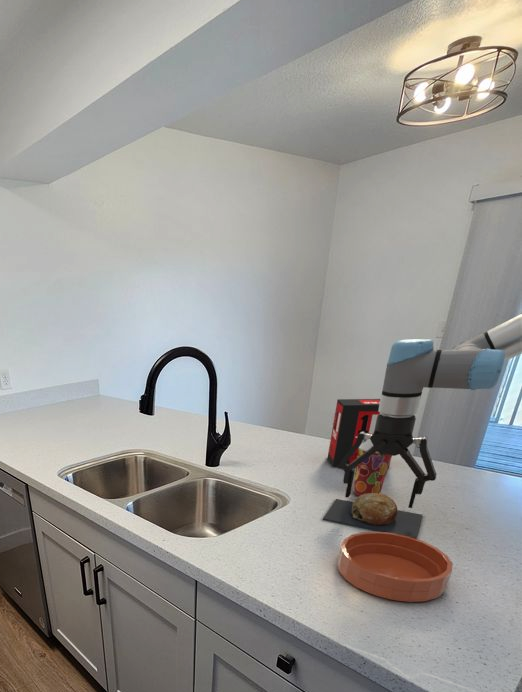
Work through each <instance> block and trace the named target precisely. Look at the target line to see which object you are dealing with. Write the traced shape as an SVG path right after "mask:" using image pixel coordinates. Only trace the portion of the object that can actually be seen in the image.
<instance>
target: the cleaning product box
mask: <svg viewBox="0 0 522 692" xmlns="http://www.w3.org/2000/svg"><path fill="white" fill-rule="evenodd" d="M380 399H381V398H338V399H337V401H336V406H335V412H334V416H333V417H334V418H333V424H332V430H331V437H330V441H329V447H328V451H327V452H328V453H327V460H328V463H330V465H331V467H332V468H338V464H339V463H340V462H341V461H342V459H343V458H344V457H345V455H346V454H347V453H348V452H349V450H350V449H351V448H352V447H353V445H354V444H355V443H356V440H357V437H358V435H359V434H360V432H362V431H364V432H365V433H367V434H373V433H374V430H375V425H376V420H377V415H379V414H380V412H379V411H378V410H379V404H380ZM358 449H359V448H358ZM358 449H357V450H356V451H355V453H354V454H353V455H352V456H351V458H350V459H349V460H348V461H347V463H346V464H350V463H352V462H353V461H354V460H355V459H357V456H358ZM390 465H391V463H390V464H389V467H388V469H389V468H390ZM354 469H356V467H355V468H354Z"/></svg>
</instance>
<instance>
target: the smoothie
mask: <svg viewBox="0 0 522 692" xmlns="http://www.w3.org/2000/svg"><path fill="white" fill-rule="evenodd" d="M372 446H373V444H372V442H371V440H370V439H368V440H367V441H366V442H365V443H362V444H361V445H360V446H359V449H358V456H357V458H358V457H359V456H361V455H362V454H363V453H365V452H366V451H367V450H369V449H370V448H371V447H372ZM392 457H393V456H392V455H389V454H385V455H383V454H380V453H378V452H375V453H374V454H373V455H371V456H370V457H368V458H367V459H366V460H364V461H363V462H362V463H360V464H359V465H358V466H356V468H355V473H354V479H353V485H352V489H353V490H354V494H355V495H356V496H357V497H358V496H360V495H362V494H368V493H376V494H378V493H380V494H381V492H382V490H383V485H384V483H385V479H386V476H387V473H388V470H389V468H390V465H391V462H392ZM389 464H390V465H389ZM388 467H389V468H388Z"/></svg>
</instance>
